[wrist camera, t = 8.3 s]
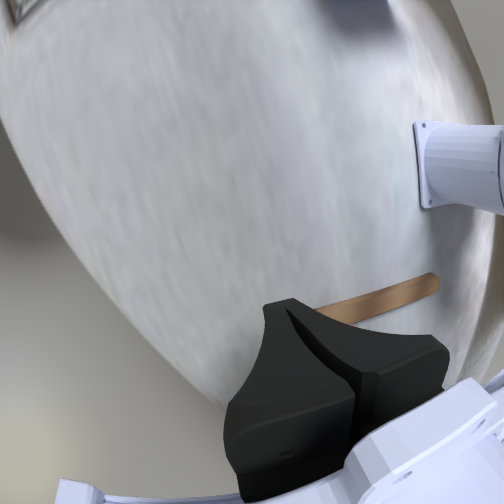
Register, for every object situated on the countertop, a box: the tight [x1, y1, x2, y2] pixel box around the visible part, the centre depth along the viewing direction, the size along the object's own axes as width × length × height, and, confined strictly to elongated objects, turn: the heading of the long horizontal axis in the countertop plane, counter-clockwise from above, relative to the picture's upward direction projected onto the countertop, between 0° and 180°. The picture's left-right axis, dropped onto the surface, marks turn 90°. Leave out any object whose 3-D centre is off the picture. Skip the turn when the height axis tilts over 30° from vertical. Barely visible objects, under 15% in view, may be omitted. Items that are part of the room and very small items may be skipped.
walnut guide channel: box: [314, 272, 440, 325], centre depth 24 cm, size 16×10×2 cm, turn 99°
